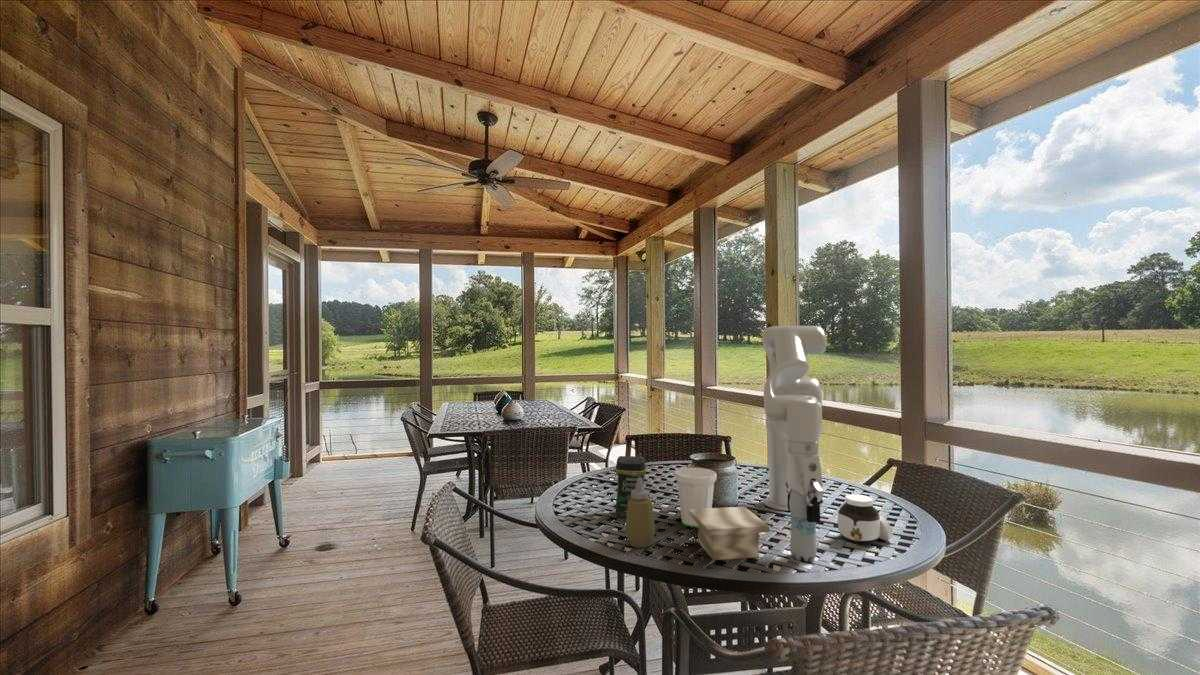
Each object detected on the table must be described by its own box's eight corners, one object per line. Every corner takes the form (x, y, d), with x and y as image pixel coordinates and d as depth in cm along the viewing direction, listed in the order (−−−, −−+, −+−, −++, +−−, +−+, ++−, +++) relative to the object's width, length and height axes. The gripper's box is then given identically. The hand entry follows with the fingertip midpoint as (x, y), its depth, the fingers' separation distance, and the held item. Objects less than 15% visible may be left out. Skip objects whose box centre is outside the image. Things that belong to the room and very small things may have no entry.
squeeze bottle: (625, 538, 152) (624, 474, 152) (654, 538, 151) (653, 474, 151) (625, 550, 144) (625, 482, 144) (656, 550, 143) (655, 482, 143)
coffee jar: (614, 518, 168) (613, 458, 168) (617, 510, 176) (616, 453, 176) (645, 520, 167) (645, 459, 167) (647, 511, 175) (646, 454, 175)
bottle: (813, 552, 141) (812, 475, 141) (821, 563, 134) (820, 482, 134) (786, 552, 141) (786, 475, 141) (793, 562, 135) (792, 482, 135)
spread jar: (834, 538, 151) (833, 496, 151) (855, 529, 158) (855, 489, 158) (877, 551, 141) (877, 506, 141) (898, 541, 148) (897, 498, 148)
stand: (744, 536, 152) (744, 506, 152) (769, 559, 137) (769, 526, 137) (689, 540, 150) (689, 509, 150) (708, 563, 134) (707, 529, 134)
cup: (723, 528, 159) (723, 476, 159) (682, 531, 157) (682, 478, 157) (708, 515, 171) (707, 466, 171) (670, 517, 169) (669, 468, 169)
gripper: (835, 453, 129) (836, 526, 129) (799, 441, 147) (800, 505, 146) (805, 454, 128) (806, 527, 128) (773, 442, 146) (773, 506, 145)
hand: (803, 515), depth 137 cm, fingers open, 9 cm apart
